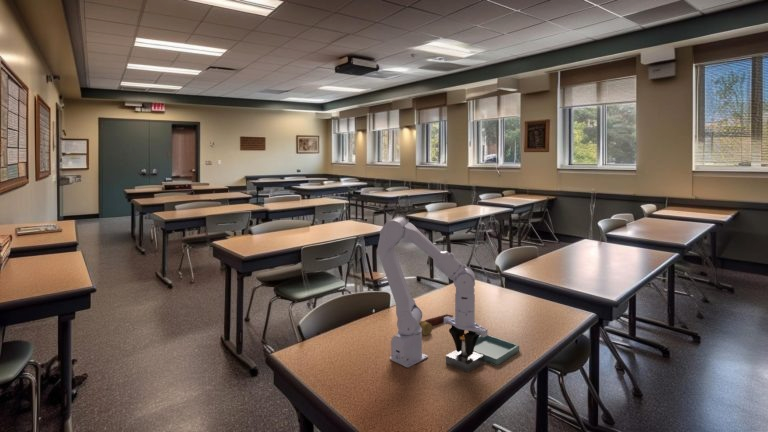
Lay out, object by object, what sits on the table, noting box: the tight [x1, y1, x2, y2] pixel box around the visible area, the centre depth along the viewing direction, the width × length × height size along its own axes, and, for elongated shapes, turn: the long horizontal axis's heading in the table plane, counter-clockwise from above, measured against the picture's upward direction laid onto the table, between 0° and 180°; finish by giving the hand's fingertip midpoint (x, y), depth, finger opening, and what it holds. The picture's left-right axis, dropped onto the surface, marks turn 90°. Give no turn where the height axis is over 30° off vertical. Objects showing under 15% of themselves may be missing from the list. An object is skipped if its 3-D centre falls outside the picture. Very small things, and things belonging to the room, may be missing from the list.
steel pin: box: [459, 332, 468, 358], centre depth 124 cm, size 3×3×9 cm
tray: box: [473, 334, 520, 367], centre depth 132 cm, size 13×13×2 cm
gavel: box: [419, 313, 454, 336], centre depth 154 cm, size 21×5×10 cm
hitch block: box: [445, 349, 485, 373], centre depth 124 cm, size 8×8×2 cm
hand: (464, 352), depth 124 cm, fingers closed on steel pin, 3 cm apart
